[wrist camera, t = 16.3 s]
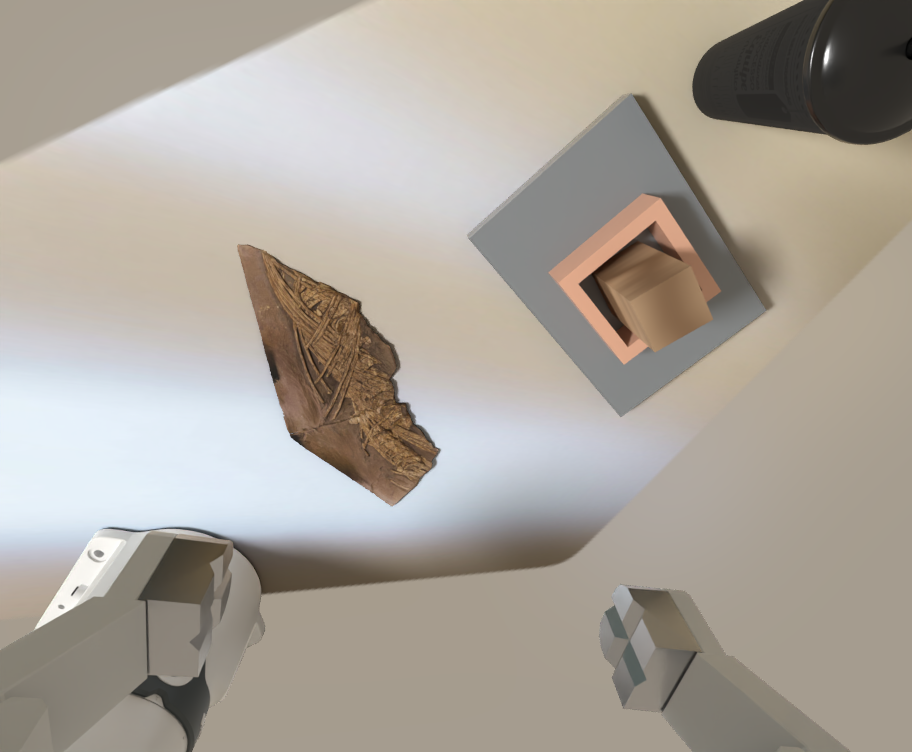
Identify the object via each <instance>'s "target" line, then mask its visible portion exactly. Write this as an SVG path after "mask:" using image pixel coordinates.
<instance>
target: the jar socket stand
mask: <svg viewBox="0 0 912 752" xmlns="http://www.w3.org/2000/svg"><path fill="white" fill-rule="evenodd" d="M467 236H468V238H469V239H470V241H471V242H472V243H473V244H474V245H475V246H476V248H477V249H478V250H479V251H480V252H481V254H482V255H483V256H484V257H485V258H486V259H487V261H488V262H489V263H490V264H491V265H492V266H493V268H494V269H495V270H496V271H497V272H498V274H499V275H500V276H501V277H502V278H503V279H504V281H505V282H506V283H507V284H508V285H509V286H510V288H511V289H512V290H513V291H514V292H515V293H516V295H517V296H518V297H519V298H520V299H521V301H522V302H523V303H524V304H525V305H526V306H527V308H528V309H529V310H530V311H531V312H532V313H533V315H534V316H535V317H536V318H537V319H538V321H539V322H540V323H541V324H542V325H543V326H544V328H545V329H546V330H547V331H548V332H549V333H550V335H551V336H552V337H553V338H554V339H555V341H556V342H557V343H558V344H559V345H560V346H561V348H562V349H563V350H564V351H565V352H566V353H567V355H568V356H569V357H570V358H571V359H572V361H573V362H574V363H575V364H576V365H577V366H578V368H579V369H580V370H581V371H582V372H583V373H584V375H585V376H586V377H587V378H588V379H589V380H590V382H591V383H592V384H593V385H594V386H595V388H596V389H597V390H598V391H599V392H600V393H601V395H602V396H603V397H604V398H605V399H606V400H607V402H608V403H609V404H610V405H611V406H612V408H613V409H614V410H615V411H616V412H617V413H618V415H619V416H620V417H622V416H623V415H624V414H626V413H627V412H629V411H630V410H631V409H633V408H634V407H635V406H637V405H638V404H640V403H641V402H642V401H644V400H645V399H646V398H648V397H649V396H650V395H652V394H653V393H655V392H656V391H657V390H659V389H660V388H661V387H663V386H664V385H665V384H667V383H668V382H670V381H671V380H672V379H674V378H675V377H676V376H678V375H679V374H681V373H682V372H683V371H685V370H686V369H687V368H689V367H690V366H691V365H693V364H694V363H696V362H697V361H698V360H700V359H701V358H702V357H704V356H705V355H707V354H708V353H709V352H711V351H712V350H713V349H715V348H716V347H717V346H719V345H720V344H722V343H723V342H724V341H726V340H727V339H728V338H730V337H731V336H732V335H734V334H735V333H737V332H738V331H739V330H741V329H742V328H743V327H745V326H746V325H748V324H749V323H750V322H752V321H753V320H754V319H756V318H757V317H758V316H760V315H761V314H763V313H764V312H765V311H766V309H765V308H764V306H763V304H762V303H761V301H760V299H759V298H758V296H757V295H756V293H755V291H754V290H753V288H752V287H751V285H750V283H749V282H748V280H747V279H746V277H745V275H744V274H743V272H742V271H741V269H740V267H739V266H738V264H737V262H736V261H735V259H734V258H733V256H732V254H731V253H730V251H729V250H728V248H727V246H726V245H725V243H724V242H723V240H722V238H721V237H720V235H719V233H718V232H717V230H716V229H715V227H714V225H713V224H712V222H711V221H710V219H709V217H708V216H707V214H706V213H705V211H704V209H703V208H702V206H701V205H700V203H699V201H698V200H697V198H696V196H695V195H694V193H693V192H692V190H691V188H690V187H689V185H688V184H687V182H686V180H685V179H684V177H683V176H682V174H681V172H680V171H679V169H678V168H677V166H676V164H675V163H674V161H673V159H672V158H671V156H670V155H669V153H668V151H667V150H666V148H665V147H664V145H663V143H662V142H661V140H660V139H659V137H658V135H657V134H656V132H655V130H654V129H653V127H652V126H651V124H650V122H649V121H648V119H647V118H646V116H645V114H644V113H643V111H642V110H641V108H640V106H639V105H638V103H637V102H636V100H635V98H634V97H633V95H632V93H630V94H625V95H622V96H621V97H620V98H619V99H618V100H617V101H616V102H615V103H613V104H612V105H611V106H610V107H609V108H608V109H607V110H606V111H605V112H603V113H602V114H601V115H600V116H599V117H598V118H597V119H596V120H595V121H593V122H592V123H591V124H590V125H589V126H588V127H587V128H586V129H585V130H583V131H582V132H581V133H580V134H579V135H578V136H577V137H576V138H575V139H573V140H572V141H571V142H570V143H569V144H568V145H567V146H566V147H565V148H563V149H562V150H561V151H560V152H559V153H558V154H557V155H556V156H554V157H553V158H552V159H551V160H550V161H549V162H548V163H547V164H546V165H544V166H543V167H542V168H541V169H540V170H539V171H538V172H537V173H536V174H534V175H533V176H532V177H531V178H530V179H529V180H528V181H527V182H526V183H524V184H523V185H522V186H521V187H520V188H519V189H518V190H517V191H516V192H514V193H513V194H512V195H511V196H510V197H509V198H508V199H507V200H506V201H504V202H503V203H502V204H501V205H500V206H499V207H498V208H497V209H496V210H494V211H493V212H492V213H491V214H490V215H489V216H488V217H487V218H485V219H484V220H483V221H482V222H481V223H480V224H479V225H478V226H477V227H475V228H474V229H473V230H472V231H471V232H470V233H469V234H468V235H467ZM637 241H639V242H641V243H644V244H646V245H648V246H650V247H652V248H654V249H656V250H658V251H661V252H663V253H665V254H667V255H669V256H671V257H673V258H675V259H678V260H680V261H682V262H684V263H686V264H688V265H690V266H691V267H692V270H693V272H694V274H695V277H696V279H697V282H698V284H699V286H700V289H701V291H702V294H703V296H704V298H705V301H706V303H707V306H708V308H709V310H710V313H711V315H712V317H713V320H712V321H710V322H708V323H706V324H705V325H703V326H701V327H699V328H697V329H696V330H694V331H692V332H690V333H689V334H687V335H685V336H683V337H682V338H680V339H678V340H676V341H674V342H673V343H671V344H669V345H667V346H666V347H664V348H662V349H660V350H658V351H657V352H654V351H653V350H652V349H651V348H649V347H648V346H647V345H646V344H645V343H644V342H643V341H642V340H641V339H639V338H638V337H637V336H636V335H635V334H634V333H633V332H632V331H631V330H629V329H628V328H627V327H626V326H625V325H624V324H623V323H622V322H621V321H619V320H618V319H617V318H616V317H615V316H614V315H613V314H612V313H611V311H610V309H609V307H608V305H607V303H606V301H605V299H604V298H603V296H602V294H601V292H600V290H599V288H598V286H597V284H596V282H595V280H594V278H593V276H592V274H591V273H592V272H593V271H595V270H596V269H597V268H598V267H599V266H601V265H602V264H603V263H604V262H606V261H607V260H608V259H609V258H611V257H613V256H614V255H616V254H618V253H619V252H621V251H623V250H624V249H626V248H628V247H629V246H631V245H633V244H634V243H636V242H637Z"/></svg>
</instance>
